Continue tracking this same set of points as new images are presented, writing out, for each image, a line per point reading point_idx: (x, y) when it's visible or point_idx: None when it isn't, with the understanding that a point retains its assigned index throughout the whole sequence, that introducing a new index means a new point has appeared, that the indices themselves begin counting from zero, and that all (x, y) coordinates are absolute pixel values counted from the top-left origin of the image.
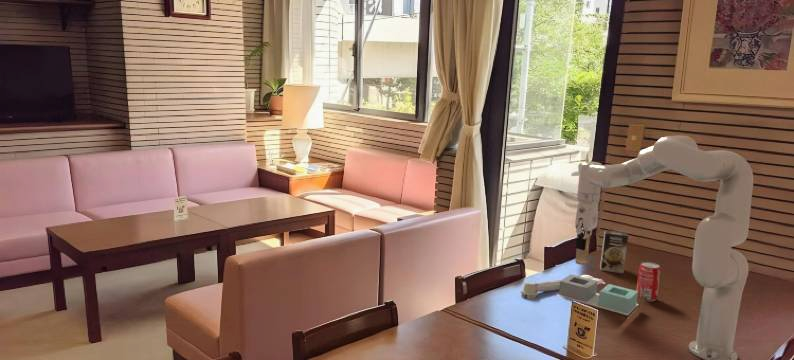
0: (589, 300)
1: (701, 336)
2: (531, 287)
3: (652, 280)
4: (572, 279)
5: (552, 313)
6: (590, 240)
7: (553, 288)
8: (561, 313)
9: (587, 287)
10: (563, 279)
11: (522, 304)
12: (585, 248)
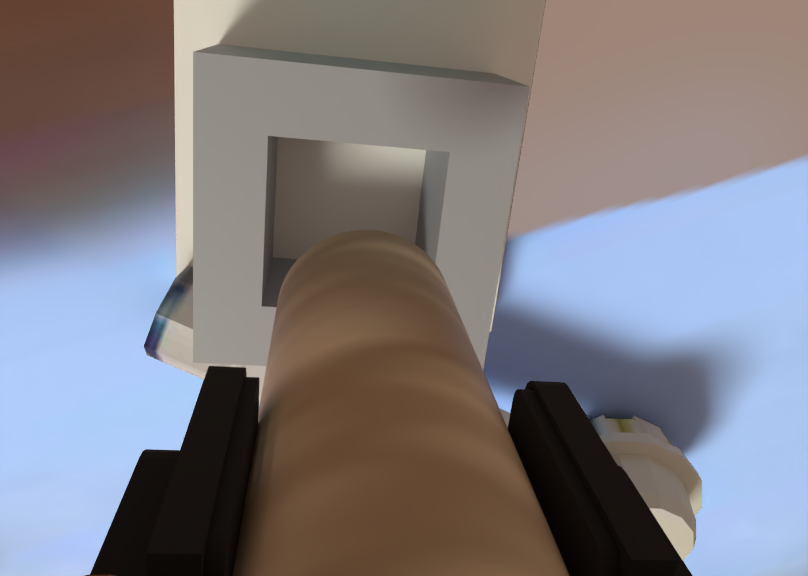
0: (436, 57)
1: None
2: (685, 502)
3: None
4: None
5: (779, 245)
6: (195, 461)
7: None
8: (748, 192)
9: (503, 98)
10: None
11: (716, 450)
12: (486, 393)
